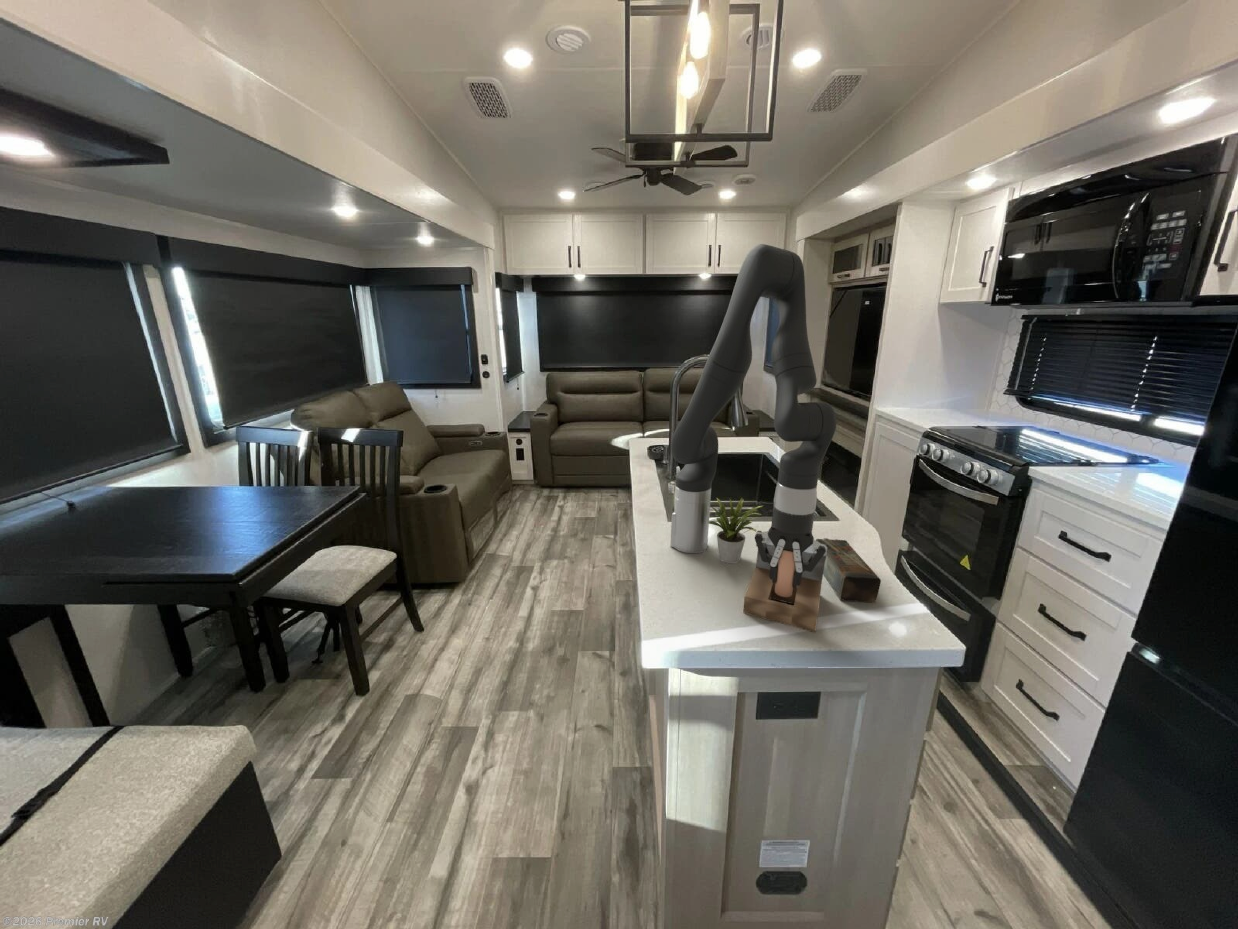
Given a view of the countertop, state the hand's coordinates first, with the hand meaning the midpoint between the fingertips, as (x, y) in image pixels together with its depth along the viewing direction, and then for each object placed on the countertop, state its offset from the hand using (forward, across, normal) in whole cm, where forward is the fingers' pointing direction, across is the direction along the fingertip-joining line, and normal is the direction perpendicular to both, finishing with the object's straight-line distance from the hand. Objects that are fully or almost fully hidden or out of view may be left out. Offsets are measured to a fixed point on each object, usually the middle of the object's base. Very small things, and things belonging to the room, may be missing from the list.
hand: (784, 582), depth 93 cm
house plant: (+7, +14, -17) cm, 23 cm away
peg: (+2, 0, 0) cm, 2 cm away
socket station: (+7, 0, -3) cm, 8 cm away
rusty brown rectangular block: (+8, -11, -20) cm, 24 cm away
